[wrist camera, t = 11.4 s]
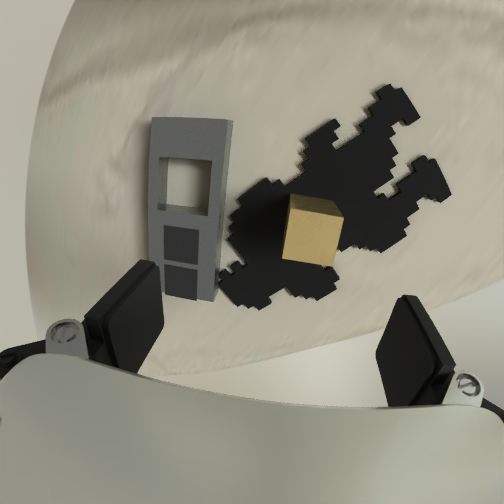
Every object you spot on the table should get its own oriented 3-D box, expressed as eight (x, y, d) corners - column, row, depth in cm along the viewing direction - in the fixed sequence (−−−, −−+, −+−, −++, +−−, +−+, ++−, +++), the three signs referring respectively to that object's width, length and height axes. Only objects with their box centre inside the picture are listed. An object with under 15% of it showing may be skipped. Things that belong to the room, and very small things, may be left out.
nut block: (290, 192, 29) (290, 208, 23) (332, 199, 29) (343, 217, 23) (283, 232, 31) (281, 258, 25) (323, 238, 31) (332, 266, 25)
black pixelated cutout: (393, 81, 23) (179, 234, 33) (396, 79, 22) (176, 236, 32) (458, 202, 27) (261, 327, 37) (462, 204, 26) (260, 331, 36)
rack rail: (161, 118, 28) (151, 117, 25) (233, 121, 27) (227, 119, 25) (158, 281, 36) (150, 291, 33) (217, 292, 35) (212, 303, 33)
